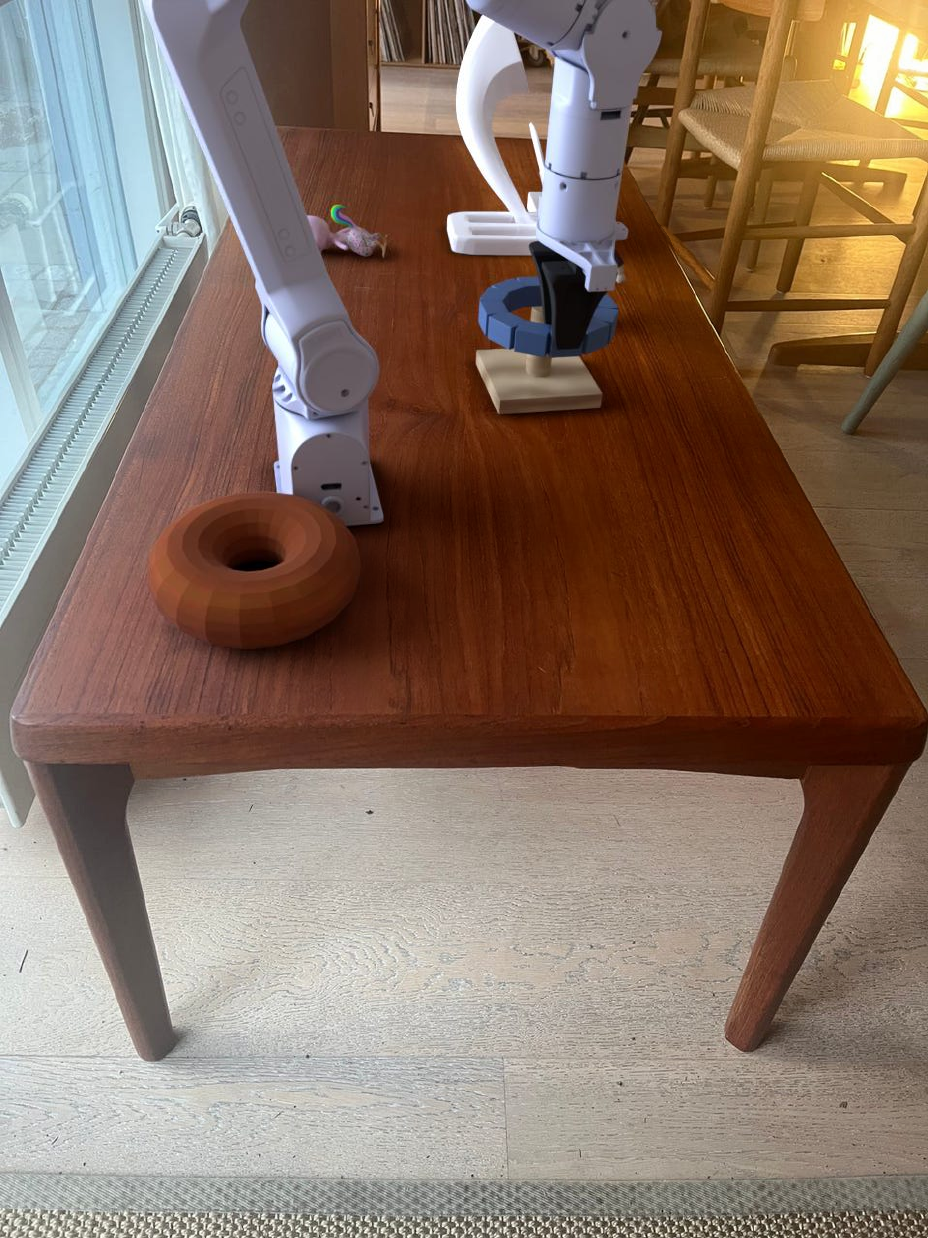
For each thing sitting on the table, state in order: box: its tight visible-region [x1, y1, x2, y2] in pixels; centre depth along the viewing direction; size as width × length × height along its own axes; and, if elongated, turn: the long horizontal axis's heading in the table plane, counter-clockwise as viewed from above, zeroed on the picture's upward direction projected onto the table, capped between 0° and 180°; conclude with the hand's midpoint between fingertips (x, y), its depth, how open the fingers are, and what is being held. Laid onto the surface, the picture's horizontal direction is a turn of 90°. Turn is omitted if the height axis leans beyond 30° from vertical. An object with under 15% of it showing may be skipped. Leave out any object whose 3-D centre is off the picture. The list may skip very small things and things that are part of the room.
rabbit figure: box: [307, 204, 388, 259], centre depth 115 cm, size 6×6×15 cm
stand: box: [475, 307, 604, 415], centre depth 93 cm, size 10×10×8 cm
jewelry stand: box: [446, 14, 545, 256], centre depth 118 cm, size 25×16×25 cm, turn 6°
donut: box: [146, 490, 362, 650], centre depth 69 cm, size 15×15×5 cm
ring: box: [478, 275, 619, 358], centre depth 84 cm, size 12×12×2 cm
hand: (562, 339), depth 81 cm, fingers closed on ring, 2 cm apart
